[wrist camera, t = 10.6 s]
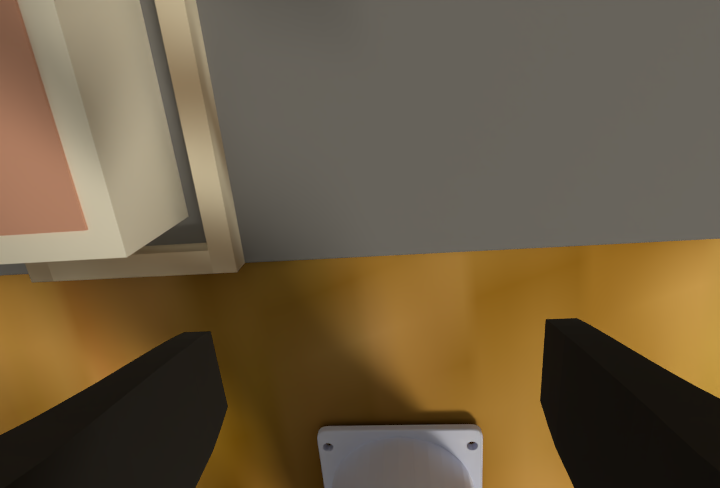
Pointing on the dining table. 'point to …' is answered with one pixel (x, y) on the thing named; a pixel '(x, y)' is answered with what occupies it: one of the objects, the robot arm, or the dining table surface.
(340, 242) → the mat
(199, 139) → the frame
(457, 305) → the dining table surface
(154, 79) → the card box
